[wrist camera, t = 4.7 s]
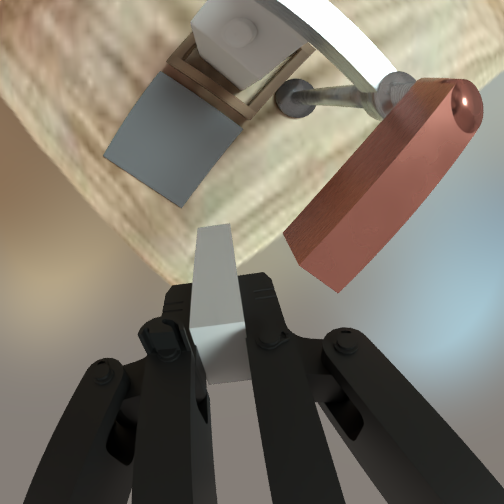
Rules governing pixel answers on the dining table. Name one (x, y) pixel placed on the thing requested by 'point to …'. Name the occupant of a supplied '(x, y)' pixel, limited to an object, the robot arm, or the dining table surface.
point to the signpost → (373, 145)
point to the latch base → (285, 98)
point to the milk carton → (243, 39)
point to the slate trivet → (171, 139)
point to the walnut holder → (245, 110)
